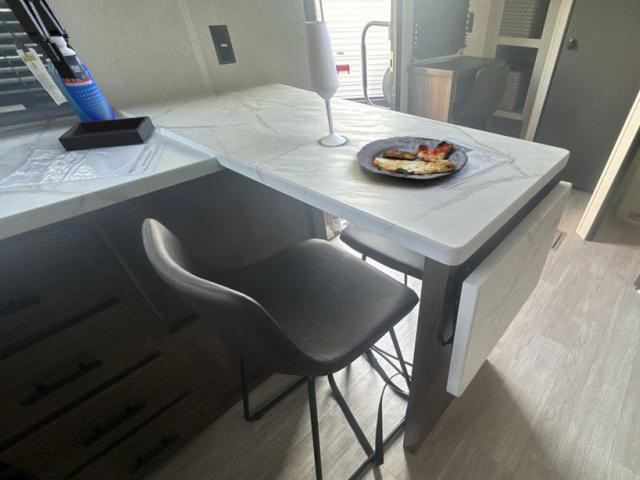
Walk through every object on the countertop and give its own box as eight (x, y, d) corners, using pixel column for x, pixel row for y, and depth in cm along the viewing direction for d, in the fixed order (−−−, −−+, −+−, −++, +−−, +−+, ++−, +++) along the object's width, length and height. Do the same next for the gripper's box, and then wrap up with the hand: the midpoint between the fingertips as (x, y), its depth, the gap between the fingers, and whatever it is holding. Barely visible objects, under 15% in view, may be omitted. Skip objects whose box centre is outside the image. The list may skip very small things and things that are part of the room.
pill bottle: (66, 87, 74) (35, 39, 68) (66, 83, 77) (36, 37, 71) (93, 84, 77) (65, 37, 70) (92, 80, 80) (65, 35, 73)
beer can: (105, 119, 98) (66, 55, 86) (125, 122, 96) (88, 56, 84) (78, 128, 92) (32, 60, 81) (99, 130, 90) (55, 62, 79)
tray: (66, 151, 80) (57, 138, 77) (85, 133, 89) (77, 122, 86) (144, 143, 83) (137, 130, 81) (154, 127, 92) (148, 115, 90)
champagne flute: (324, 136, 87) (305, 20, 69) (348, 137, 86) (335, 20, 69) (317, 145, 82) (295, 23, 65) (342, 146, 81) (327, 23, 64)
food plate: (472, 151, 79) (474, 136, 76) (457, 194, 63) (459, 177, 61) (378, 141, 84) (378, 127, 81) (343, 178, 68) (341, 162, 66)
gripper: (-21, -79, 54) (78, 82, 71) (29, -68, 66) (104, 67, 83) (-77, -80, 52) (39, 85, 69) (-15, -69, 64) (70, 69, 81)
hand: (74, 75), depth 76 cm, fingers closed on pill bottle, 5 cm apart
